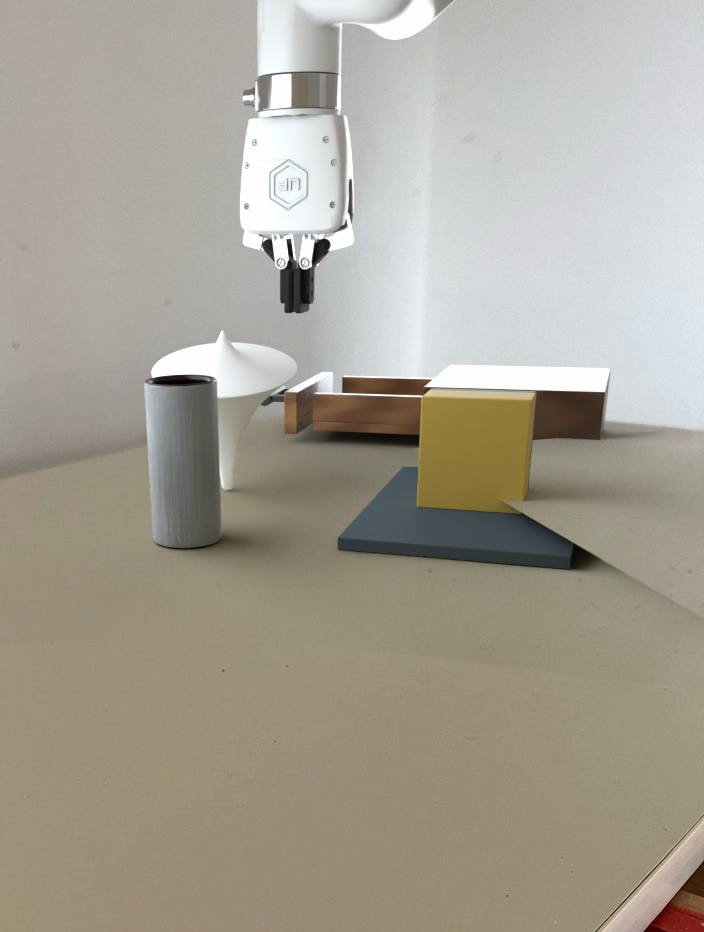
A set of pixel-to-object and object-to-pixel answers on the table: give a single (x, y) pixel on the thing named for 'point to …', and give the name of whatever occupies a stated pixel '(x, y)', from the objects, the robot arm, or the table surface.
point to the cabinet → (543, 394)
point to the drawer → (353, 404)
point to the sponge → (475, 449)
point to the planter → (183, 459)
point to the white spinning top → (232, 386)
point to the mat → (451, 531)
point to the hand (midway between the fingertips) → (296, 311)
